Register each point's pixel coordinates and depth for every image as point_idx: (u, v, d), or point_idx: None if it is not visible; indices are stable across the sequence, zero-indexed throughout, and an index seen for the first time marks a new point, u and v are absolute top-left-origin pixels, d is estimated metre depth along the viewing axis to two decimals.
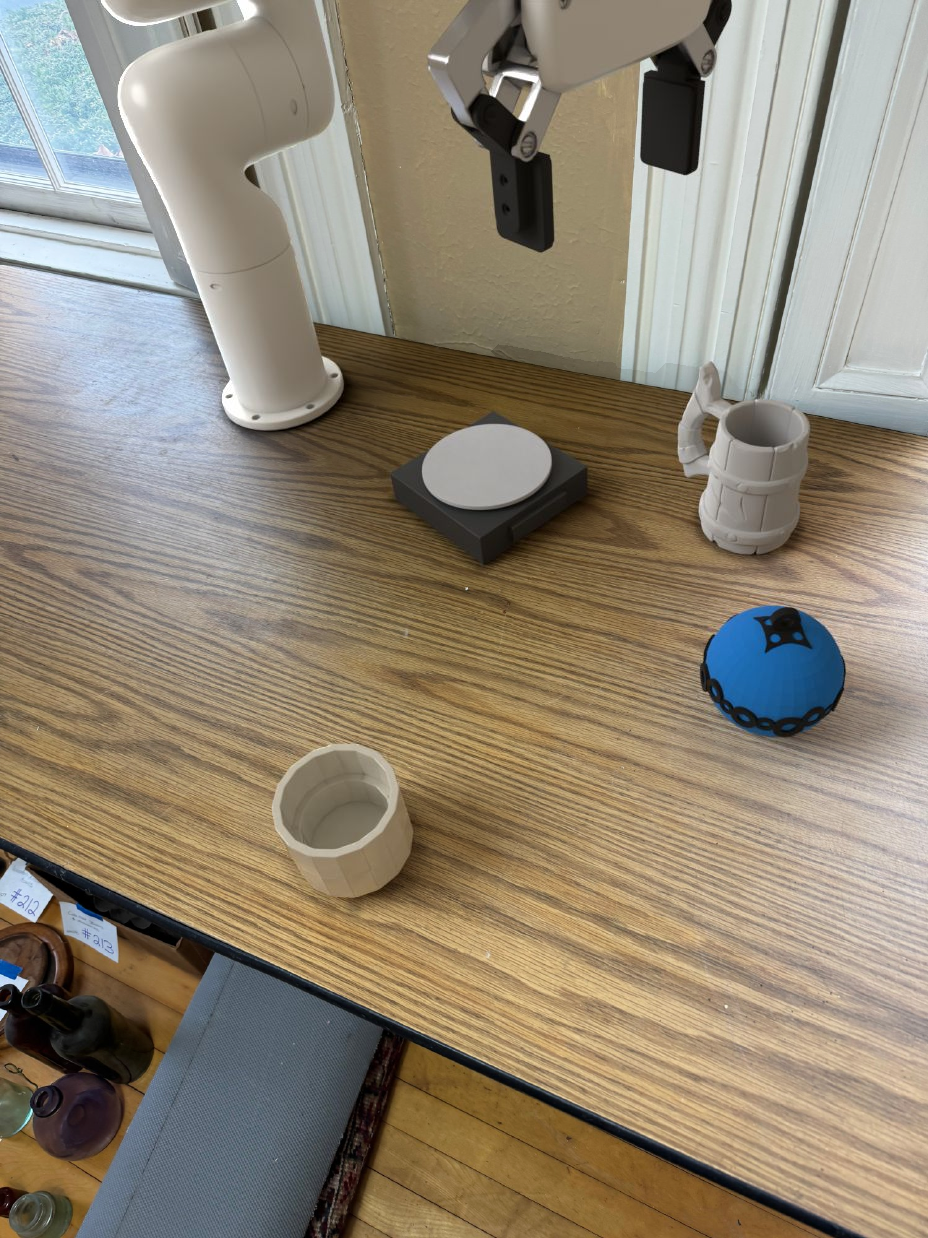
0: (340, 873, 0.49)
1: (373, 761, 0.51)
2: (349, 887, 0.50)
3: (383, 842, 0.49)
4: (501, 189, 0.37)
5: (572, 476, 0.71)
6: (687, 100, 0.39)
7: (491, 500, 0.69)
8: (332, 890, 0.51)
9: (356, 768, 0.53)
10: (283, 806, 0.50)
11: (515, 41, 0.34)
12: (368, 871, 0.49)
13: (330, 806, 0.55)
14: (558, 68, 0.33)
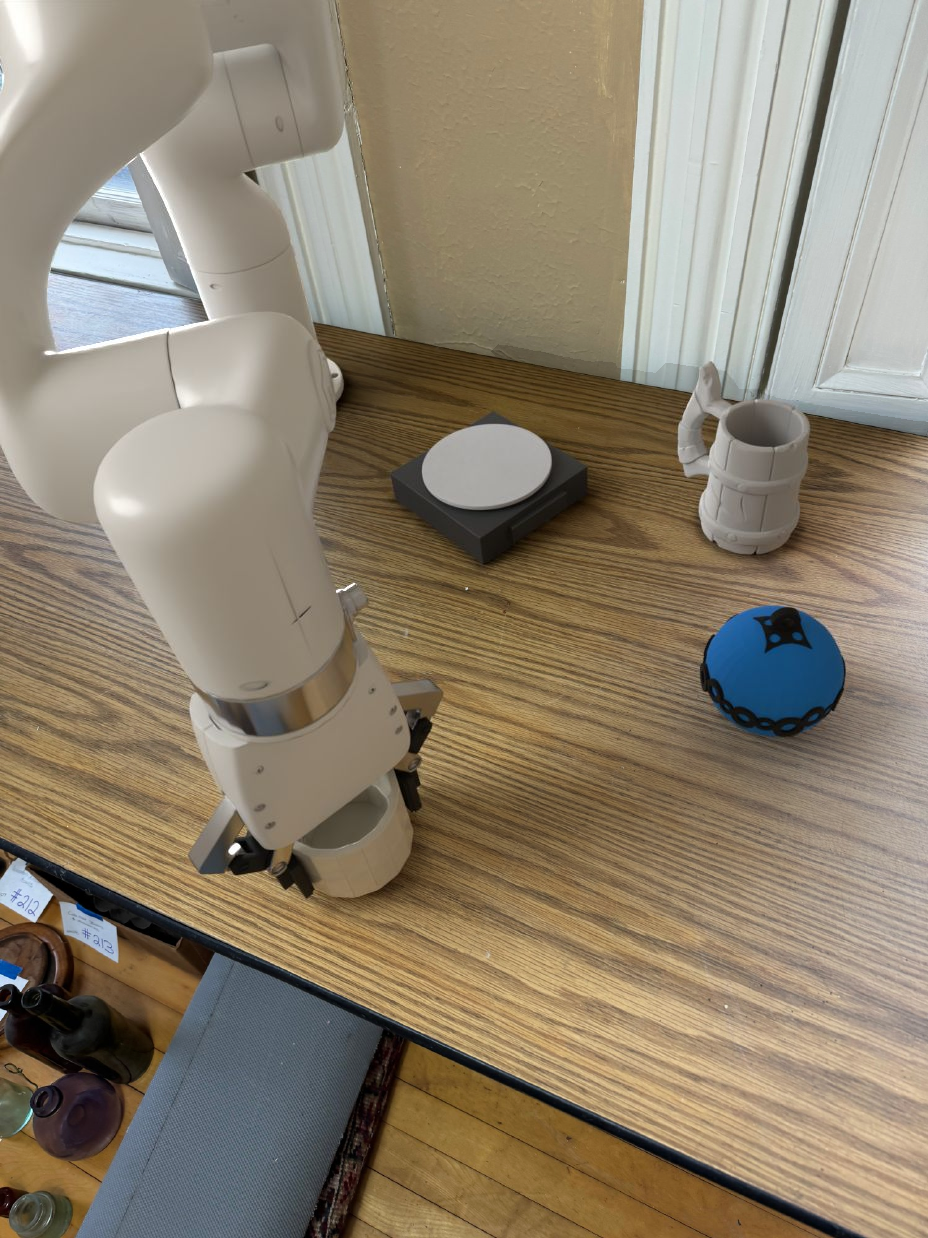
0: (340, 873, 0.49)
1: None
2: (349, 887, 0.50)
3: (383, 842, 0.49)
4: None
5: (572, 476, 0.71)
6: (401, 785, 0.51)
7: (491, 500, 0.69)
8: (332, 890, 0.51)
9: None
10: None
11: None
12: (368, 871, 0.49)
13: None
14: (275, 846, 0.45)
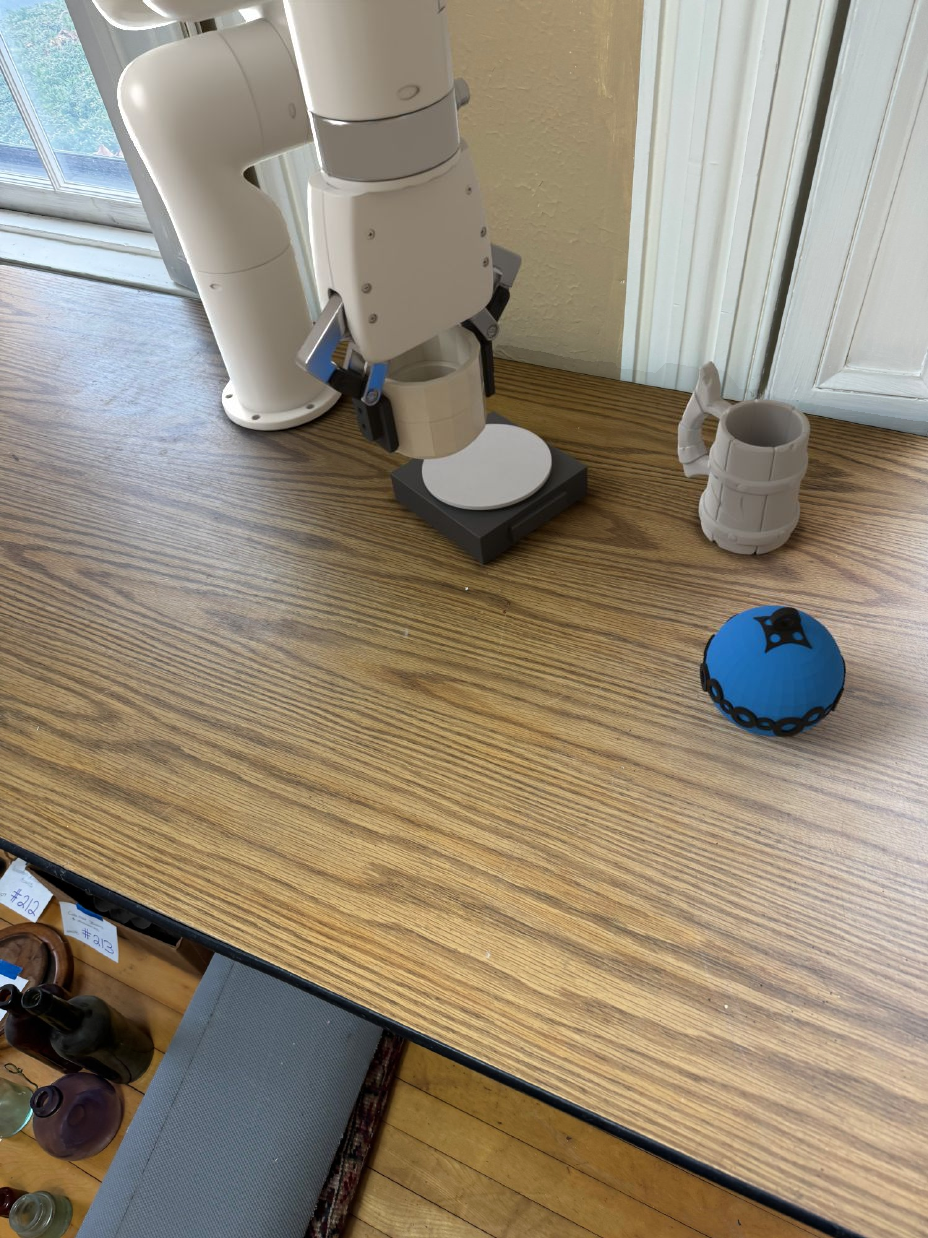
0: (426, 414, 0.53)
1: (454, 333, 0.56)
2: (432, 438, 0.55)
3: (466, 385, 0.53)
4: (360, 415, 0.54)
5: (572, 476, 0.71)
6: None
7: (491, 500, 0.69)
8: (415, 444, 0.55)
9: (436, 352, 0.58)
10: None
11: None
12: (450, 418, 0.54)
13: None
14: (374, 353, 0.49)
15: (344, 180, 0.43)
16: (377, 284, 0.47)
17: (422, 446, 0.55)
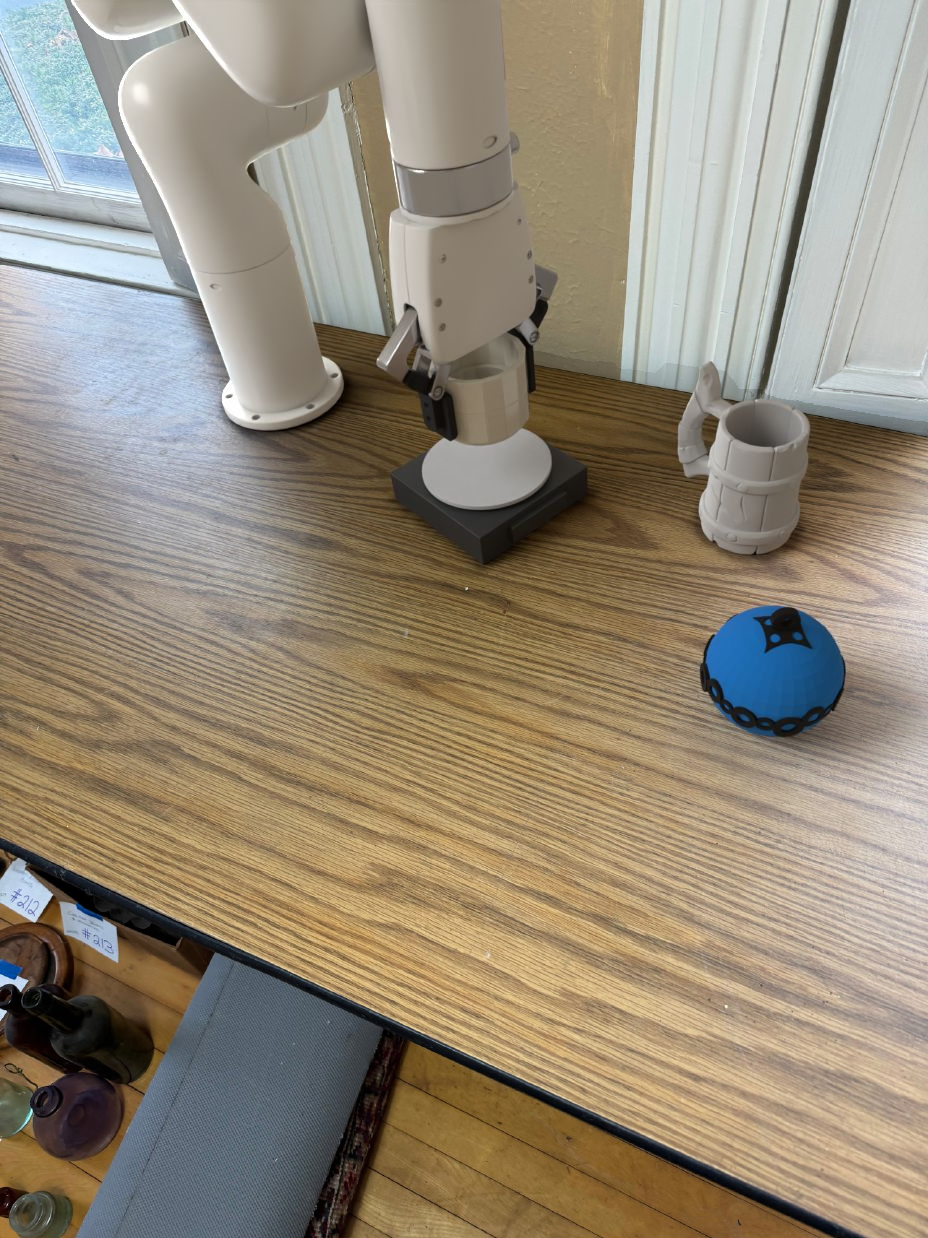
0: (482, 406, 0.63)
1: (501, 339, 0.66)
2: (486, 427, 0.65)
3: (515, 381, 0.63)
4: (425, 409, 0.64)
5: (572, 476, 0.71)
6: None
7: (491, 500, 0.69)
8: (472, 433, 0.65)
9: (485, 355, 0.68)
10: None
11: None
12: (502, 409, 0.64)
13: None
14: (441, 356, 0.60)
15: (422, 216, 0.54)
16: (446, 299, 0.57)
17: (477, 434, 0.65)
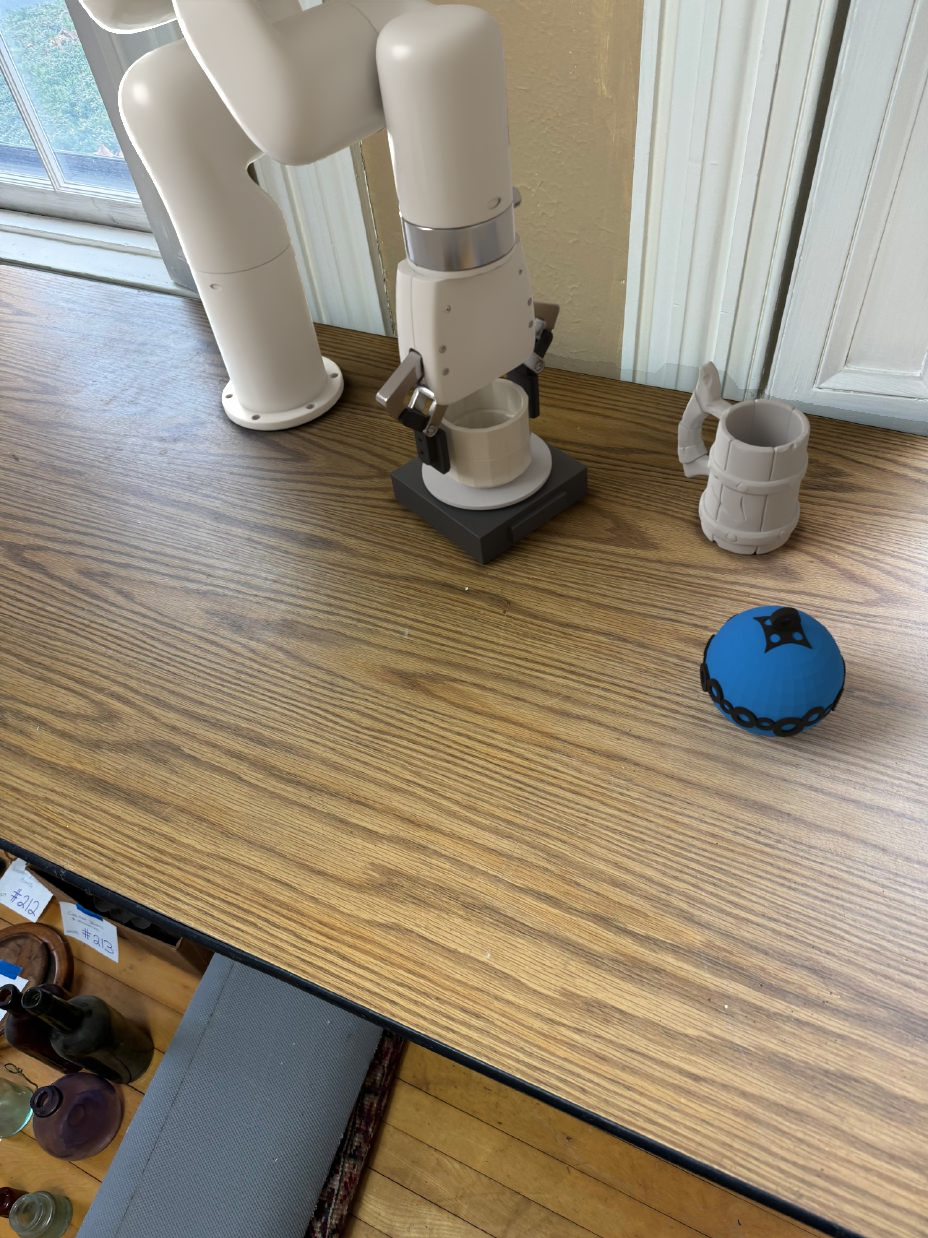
0: (487, 453, 0.67)
1: (505, 387, 0.69)
2: (490, 472, 0.68)
3: (518, 429, 0.67)
4: (419, 444, 0.66)
5: (572, 476, 0.71)
6: (528, 385, 0.69)
7: (491, 500, 0.69)
8: (477, 477, 0.69)
9: (489, 401, 0.71)
10: None
11: (425, 374, 0.64)
12: (506, 455, 0.67)
13: None
14: (445, 397, 0.62)
15: (429, 269, 0.56)
16: (450, 346, 0.60)
17: (482, 478, 0.69)
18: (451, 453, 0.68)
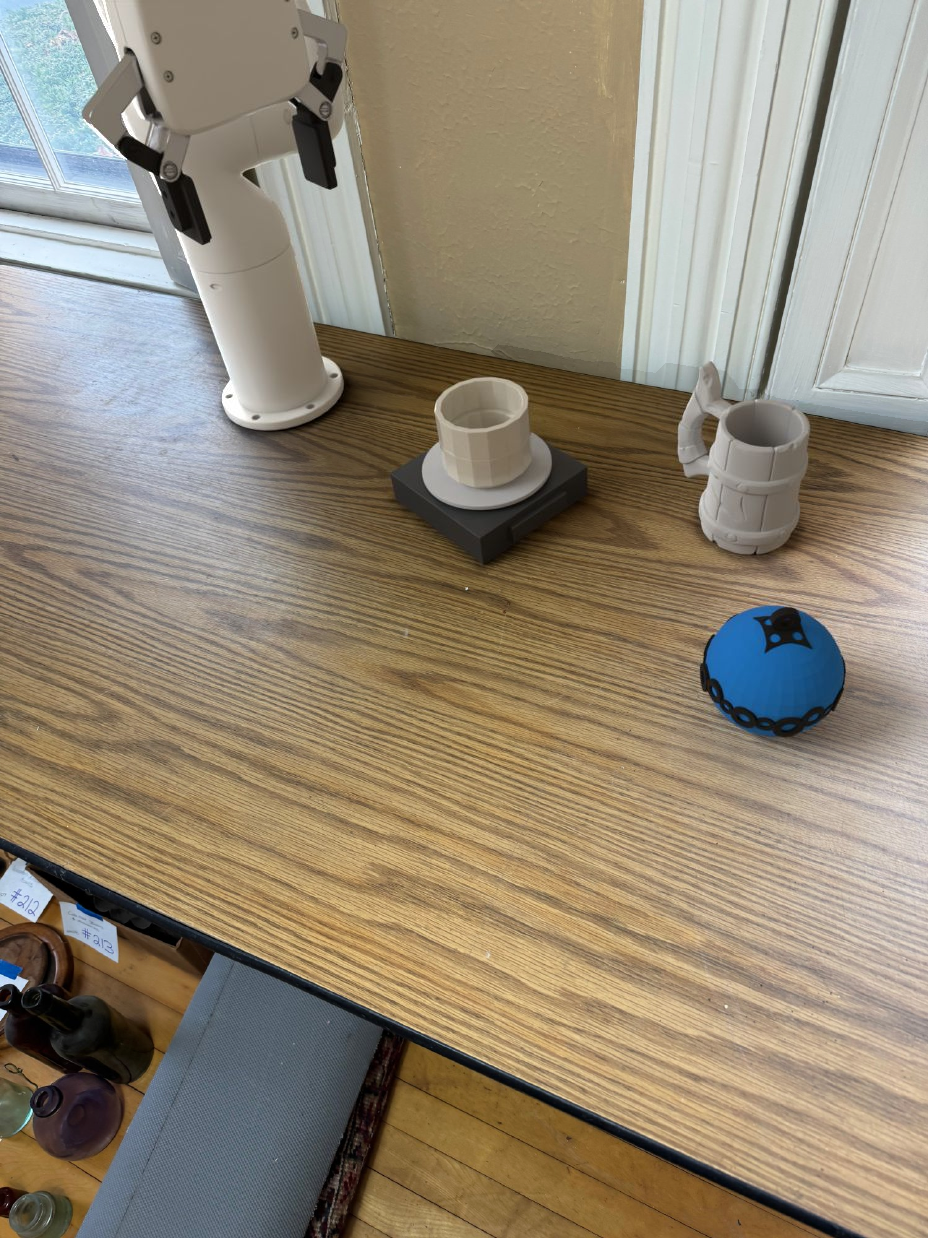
0: (487, 453, 0.67)
1: (505, 387, 0.69)
2: (490, 472, 0.68)
3: (518, 429, 0.67)
4: (166, 200, 0.52)
5: (572, 476, 0.71)
6: (314, 137, 0.55)
7: (491, 500, 0.69)
8: (477, 477, 0.69)
9: (489, 401, 0.71)
10: (441, 413, 0.68)
11: None
12: (506, 455, 0.67)
13: None
14: (177, 120, 0.48)
15: None
16: (167, 34, 0.45)
17: (482, 478, 0.69)
18: (451, 453, 0.68)
